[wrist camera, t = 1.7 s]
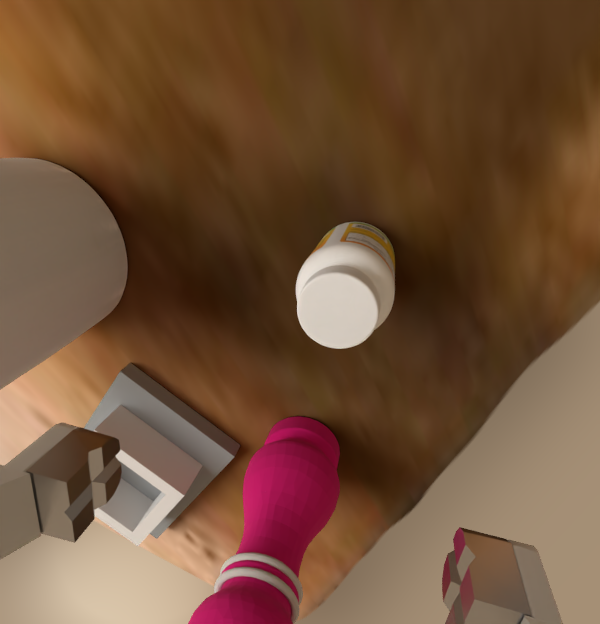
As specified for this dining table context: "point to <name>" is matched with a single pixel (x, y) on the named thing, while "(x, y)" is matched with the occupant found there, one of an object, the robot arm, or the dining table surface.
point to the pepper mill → (277, 525)
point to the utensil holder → (52, 262)
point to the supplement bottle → (346, 285)
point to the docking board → (156, 454)
